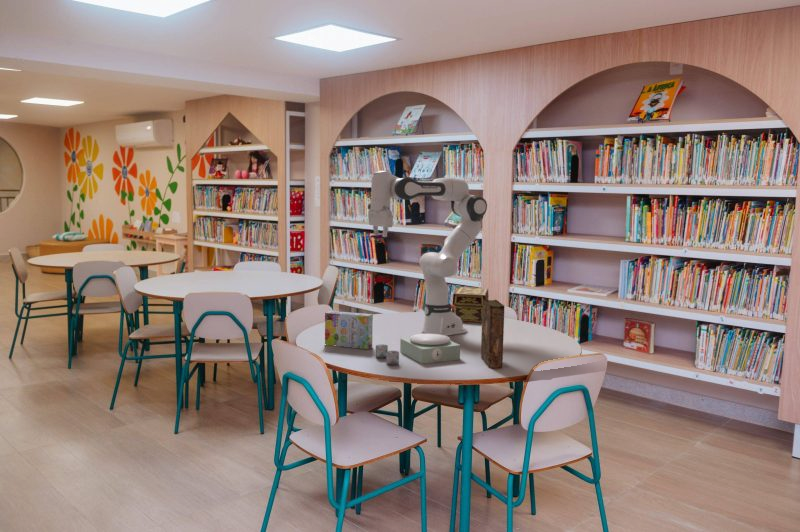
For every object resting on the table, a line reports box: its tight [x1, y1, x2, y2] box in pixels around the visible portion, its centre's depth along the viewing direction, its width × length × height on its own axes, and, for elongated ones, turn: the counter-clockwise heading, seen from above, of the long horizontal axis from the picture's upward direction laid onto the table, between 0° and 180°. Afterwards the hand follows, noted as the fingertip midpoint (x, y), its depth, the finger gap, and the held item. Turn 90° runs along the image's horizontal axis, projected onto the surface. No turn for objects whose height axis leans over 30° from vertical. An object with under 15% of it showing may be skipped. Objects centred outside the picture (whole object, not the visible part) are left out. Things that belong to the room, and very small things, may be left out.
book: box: [480, 299, 505, 370], centre depth 259 cm, size 16×6×25 cm, turn 5°
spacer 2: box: [385, 350, 400, 367], centre depth 257 cm, size 5×5×5 cm
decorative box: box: [451, 286, 489, 324], centre depth 352 cm, size 28×19×15 cm
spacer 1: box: [375, 343, 389, 360], centre depth 267 cm, size 5×5×5 cm
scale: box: [399, 333, 461, 364], centre depth 270 cm, size 18×21×8 cm
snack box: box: [324, 310, 374, 350], centre depth 284 cm, size 21×6×15 cm, turn 71°
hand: (380, 236), depth 296 cm, fingers open, 8 cm apart
